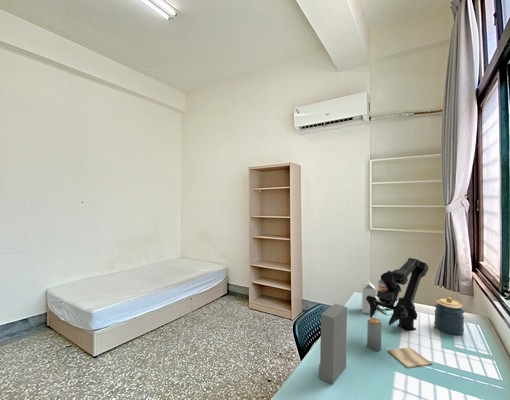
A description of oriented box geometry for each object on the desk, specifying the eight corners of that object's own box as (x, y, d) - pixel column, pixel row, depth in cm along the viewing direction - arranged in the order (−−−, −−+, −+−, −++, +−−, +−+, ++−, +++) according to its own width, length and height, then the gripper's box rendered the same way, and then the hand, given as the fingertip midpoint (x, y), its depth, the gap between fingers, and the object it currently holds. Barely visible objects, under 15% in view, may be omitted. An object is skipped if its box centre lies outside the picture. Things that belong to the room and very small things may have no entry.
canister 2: (468, 338, 134) (469, 303, 134) (438, 333, 138) (439, 299, 138) (458, 326, 146) (458, 294, 146) (430, 322, 150) (431, 291, 150)
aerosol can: (377, 308, 168) (377, 277, 168) (378, 305, 174) (378, 274, 174) (389, 311, 165) (389, 279, 164) (389, 307, 171) (390, 276, 170)
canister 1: (375, 343, 128) (376, 316, 127) (383, 350, 122) (384, 322, 122) (364, 344, 126) (364, 317, 126) (372, 351, 121) (372, 323, 120)
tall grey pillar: (332, 361, 113) (333, 303, 113) (346, 367, 109) (347, 306, 109) (317, 377, 102) (318, 313, 102) (332, 385, 99) (334, 318, 98)
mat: (409, 348, 123) (410, 347, 123) (431, 364, 112) (432, 363, 112) (387, 351, 121) (387, 350, 121) (407, 367, 109) (407, 366, 109)
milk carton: (374, 310, 166) (374, 280, 166) (375, 314, 159) (375, 283, 159) (361, 308, 168) (362, 278, 168) (362, 312, 162) (363, 282, 161)
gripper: (368, 279, 137) (355, 305, 131) (406, 289, 122) (393, 319, 116) (375, 291, 142) (363, 317, 135) (413, 303, 127) (401, 332, 120)
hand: (379, 321), depth 127 cm, fingers open, 9 cm apart
